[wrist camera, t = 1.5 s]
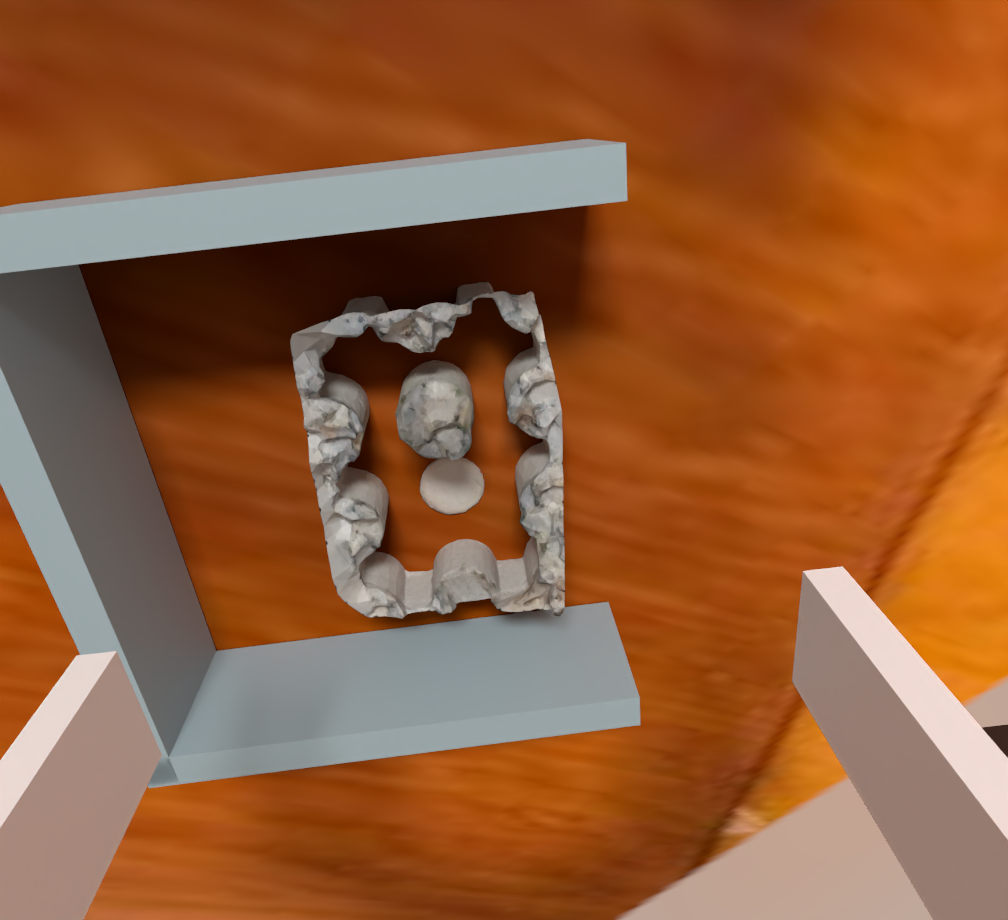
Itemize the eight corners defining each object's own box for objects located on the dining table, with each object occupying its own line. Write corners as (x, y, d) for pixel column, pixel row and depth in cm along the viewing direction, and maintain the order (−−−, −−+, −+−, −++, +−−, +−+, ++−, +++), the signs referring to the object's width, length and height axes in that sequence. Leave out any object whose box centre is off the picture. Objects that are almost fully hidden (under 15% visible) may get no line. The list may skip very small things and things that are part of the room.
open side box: (194, 679, 27) (142, 788, 23) (12, 204, 20) (-119, 227, 15) (609, 626, 28) (640, 724, 23) (586, 139, 20) (625, 143, 15)
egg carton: (555, 559, 26) (573, 631, 23) (353, 576, 26) (338, 651, 22) (548, 270, 22) (568, 301, 18) (302, 287, 21) (272, 321, 18)
